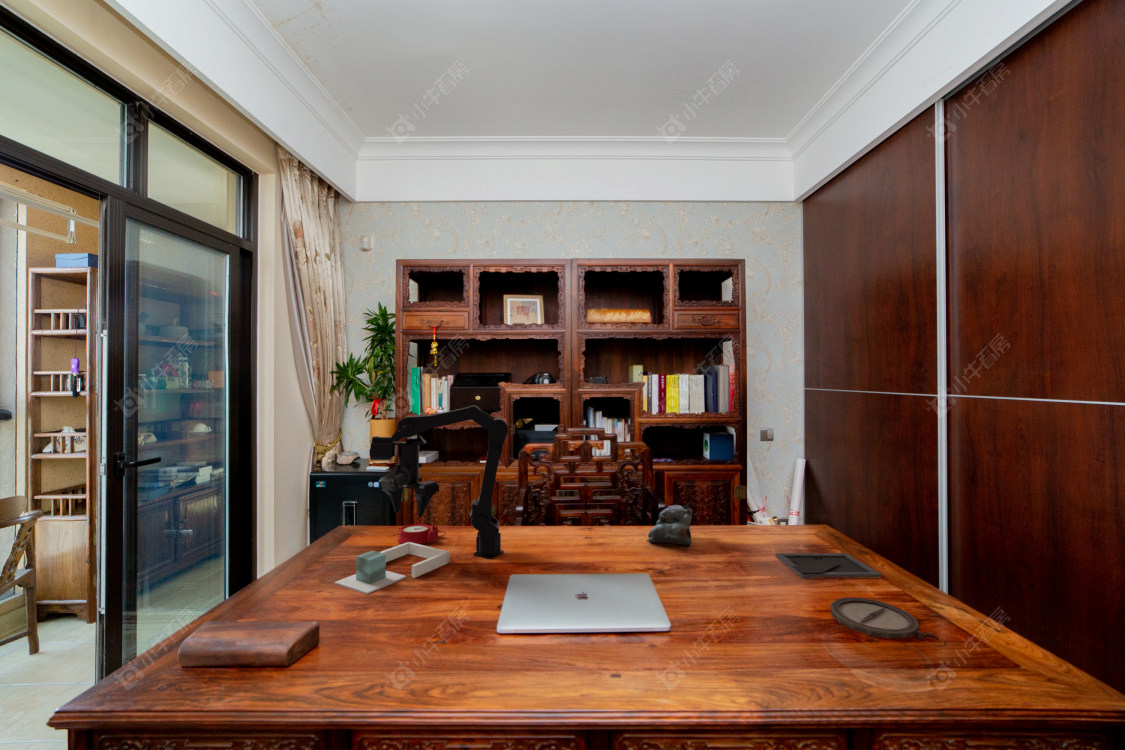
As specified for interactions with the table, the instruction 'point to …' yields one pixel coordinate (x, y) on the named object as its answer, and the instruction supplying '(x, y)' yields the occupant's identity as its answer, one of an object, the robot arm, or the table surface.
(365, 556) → the teal block
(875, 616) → the compass
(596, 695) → the table surface
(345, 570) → the table surface
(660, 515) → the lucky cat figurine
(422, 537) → the alarm clock
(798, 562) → the picture frame
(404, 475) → the robot arm
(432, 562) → the white u-shaped frame
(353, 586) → the grey mat
